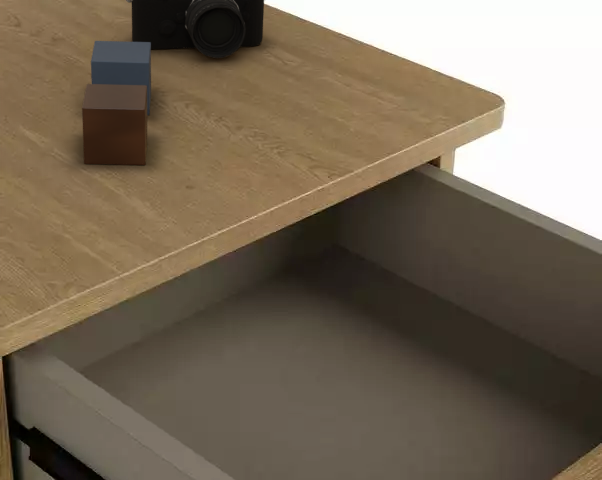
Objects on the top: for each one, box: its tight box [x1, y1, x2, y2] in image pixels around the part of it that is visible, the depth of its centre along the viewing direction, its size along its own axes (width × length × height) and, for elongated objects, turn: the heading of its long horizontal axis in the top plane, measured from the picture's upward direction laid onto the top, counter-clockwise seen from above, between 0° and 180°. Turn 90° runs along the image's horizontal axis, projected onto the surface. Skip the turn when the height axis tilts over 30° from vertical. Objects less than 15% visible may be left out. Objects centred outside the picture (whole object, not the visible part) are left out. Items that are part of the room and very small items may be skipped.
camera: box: [125, 0, 265, 59], centre depth 127 cm, size 14×7×8 cm, turn 102°
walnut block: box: [81, 83, 148, 166], centre depth 107 cm, size 5×5×5 cm
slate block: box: [90, 40, 152, 117], centre depth 116 cm, size 5×5×5 cm
